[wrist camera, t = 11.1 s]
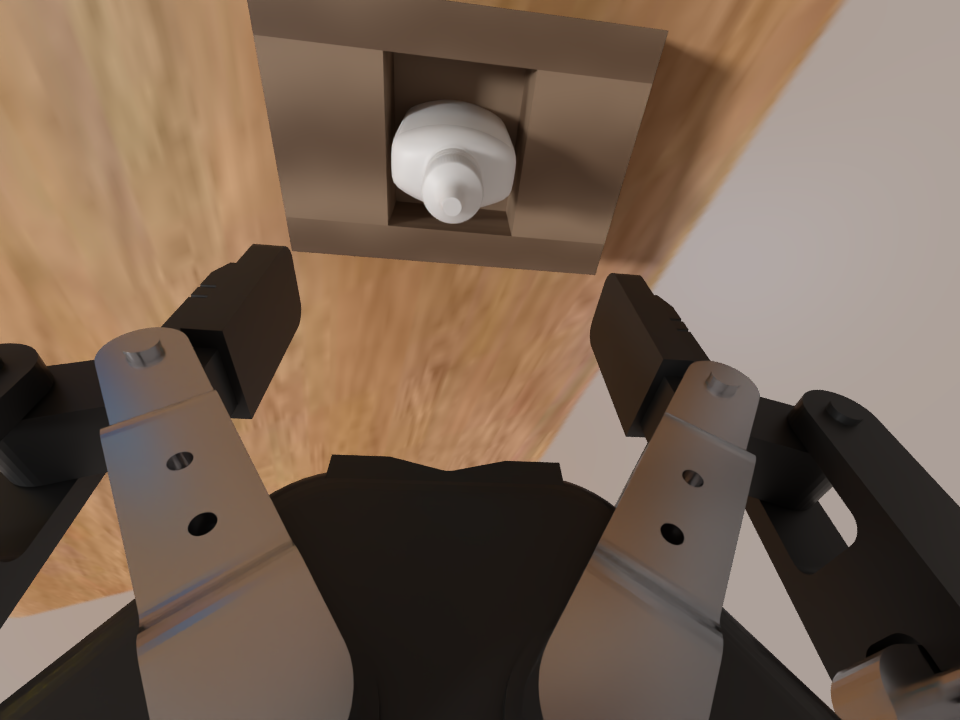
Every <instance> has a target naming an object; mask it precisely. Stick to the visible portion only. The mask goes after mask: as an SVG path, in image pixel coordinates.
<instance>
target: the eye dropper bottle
mask: <svg viewBox="0 0 960 720" xmlns="http://www.w3.org/2000/svg"><path fill="white" fill-rule="evenodd" d="M515 167H516V156H515V151H514V147H513V145H512V142H511V139H510V136H509V134H508V131H507V129H506V126H505V124H504V122H503V121H502V120H501V119H500V118H499V117H498V116H496V115H495V114H493V113H492V112H490V111H488V110H486V109H484V108H482V107H480V106H477V105H475V104H472V103H468V102H464V101H459V100H435V101H429V102H425V103H421V104H418V105H416V106H413V107H411V108H410V109H409V110H408V111H407V113H406V114H405V116H404V118H403V120H402V122H401V124H400V126H399V128H398V130H397V132H396V134H395V137H394V140H393V143H392V152H391V170H392V178H393V181H394V183H395V184H396V185H397V187H398V188H399V189H401V190H402V191H404V192H405V193H407V194H409V195H410V196H412V197H414V198H416V199H418V200H420V201H423V202H424V205H426V206H425V207H426V208H427V210H428V211H429V213H431V215H433V217H436V219H438V220H439V221H442V222H444V223H450V224H452V223H453V224H455V223H456V224H458V223H461V222H464V221H467V220H469V218H472V216H474V214H476V212H478V209H480V207H484V206H488V205H491V204H494V203H497V202H499V201H502V200H504V199H505V198H506V197H507V196H509V194H510V192H511V190H512V186H513V180H514V174H515Z"/></svg>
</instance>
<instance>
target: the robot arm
mask: <svg viewBox="0 0 960 720" xmlns="http://www.w3.org/2000/svg"><path fill="white" fill-rule="evenodd" d="M200 285H201V286H200V287H198V288H197V289H196V290H195V291H194V292H193V293H192V294H191V297H188V298H187V299H186V300H185V302H184V303H183V304H182V305H181V306H180V307H179V308H178V309H177V310H176V311H175V312H174V313H173V315H172V316H171V317H170V318H169V319H168V320H167V321H166V322H165V323H164V324H163V325H162V326H161V327H155V328H146V329H140V330H136V331H132V332H129V333H126V334H124V335H121V336H119V337H117V338H115V339H113V340H111V341H110V342H108V343H107V344H105V345H104V346H103V347H102V348H101V349H100V350H99V351H98V353H97V354H96V356H95V360H90V361H83V362H75V363H68V364H60V365H52V366H46V365H45V363H44V362H43V360H42V359H41V358H40V356H39V355H38V353H37V352H36V350H35V349H33V348H32V347H30V346H27V345H23V344H13V343H9V344H0V628H1V627H2V626H3V624H4V623H5V621H6V620H7V618H8V617H9V615H10V614H11V612H12V611H13V609H14V608H15V606H16V605H17V603H18V602H19V600H20V599H21V598H22V596H23V595H24V593H25V592H26V590H27V589H28V587H29V586H30V584H31V583H32V581H33V580H34V578H35V577H36V575H37V574H38V572H39V571H40V569H41V568H42V566H43V565H44V563H45V562H46V561H47V559H48V558H49V556H50V555H51V553H52V552H53V550H54V549H55V547H56V546H57V544H58V543H59V541H60V540H61V538H62V537H63V535H64V534H65V532H66V531H67V529H68V528H69V526H70V525H71V524H72V522H73V521H74V519H75V518H76V516H77V515H78V513H79V512H80V510H81V509H82V507H83V506H84V504H85V503H86V501H87V500H88V498H89V497H90V495H91V494H92V492H93V491H94V489H95V488H96V487H97V485H98V484H99V482H100V481H101V479H102V478H103V476H104V475H105V473H106V472H108V475H109V480H110V485H111V489H112V494H113V498H114V503H115V508H116V512H117V517H118V522H119V526H120V531H121V535H122V540H123V545H124V549H125V554H126V558H127V563H128V568H129V572H130V577H131V581H132V586H133V591H134V595H135V599H134V600H132V601H131V602H130V603H129V604H127V605H126V606H125V607H123V608H122V609H121V610H120V611H118V612H117V613H116V614H114V615H113V616H112V617H111V618H109V619H108V620H107V621H106V622H104V623H103V624H102V625H100V626H99V627H98V628H97V629H95V630H94V631H93V632H91V633H90V634H89V635H88V636H86V637H85V638H84V639H82V640H81V641H80V642H79V643H77V644H76V645H75V646H74V647H72V648H71V649H70V650H69V651H67V652H66V653H65V654H63V655H62V656H61V657H59V658H58V659H57V660H56V661H54V662H53V663H52V664H51V665H49V666H48V667H47V668H45V669H44V670H43V671H42V672H40V673H39V674H38V675H36V676H35V677H34V678H33V679H31V680H30V681H29V682H27V684H25V685H24V686H22V687H21V688H20V689H19V690H17V691H16V692H15V693H14V694H12V695H11V696H10V697H8V698H7V699H6V700H5V701H3V702H2V703H1V704H0V720H960V507H959V506H958V505H957V504H956V503H955V502H954V500H953V499H952V498H951V497H950V496H949V495H948V494H947V493H946V492H945V491H944V490H943V489H942V488H941V487H940V485H939V484H938V483H937V482H936V481H935V480H934V479H933V478H932V477H931V476H930V475H929V474H928V473H927V472H926V470H925V469H924V468H923V467H922V466H921V465H920V464H919V463H918V462H917V461H916V460H915V459H914V458H913V457H912V455H911V454H910V453H909V452H908V451H907V450H906V449H905V448H904V447H903V446H902V445H901V444H900V443H899V441H898V440H897V439H896V438H895V437H894V436H893V435H892V434H891V433H890V432H889V431H888V430H887V429H886V428H885V426H884V425H883V424H882V423H881V422H880V421H879V420H878V419H877V418H876V417H875V416H874V415H873V414H872V413H871V412H869V411H868V410H867V409H865V408H864V407H862V406H861V405H860V404H858V403H856V402H855V401H852V400H851V399H849V398H846V397H844V396H842V395H839V394H836V393H833V392H829V391H824V390H811V391H808V392H806V393H805V394H804V395H803V396H802V398H801V399H800V400H799V401H798V403H797V404H796V405H795V406H792V405H788V404H785V403H781V402H777V401H774V400H770V399H766V398H762V397H760V394H759V391H758V388H757V387H756V385H755V384H754V383H753V382H752V381H751V380H750V379H749V378H748V377H747V376H745V375H744V374H743V373H741V372H740V371H738V370H736V369H734V368H732V367H730V366H728V365H725V364H722V363H718V362H714V361H710V360H709V358H708V357H707V355H706V354H705V352H704V351H703V349H702V348H701V347H700V345H699V344H698V342H697V341H696V340H695V338H694V337H693V335H692V334H691V332H688V328H687V327H686V325H685V324H684V323H683V322H681V318H680V317H679V315H678V314H677V312H676V311H675V310H674V308H673V307H672V306H670V305H669V304H668V303H667V302H666V301H664V300H663V299H662V298H660V297H659V296H657V295H654V294H653V293H652V291H651V290H650V288H649V287H648V285H647V284H646V282H645V281H644V279H643V278H642V277H641V276H640V275H629V274H616V273H611V274H609V276H608V277H607V279H606V281H605V283H604V287H603V290H602V293H601V296H600V299H599V302H598V305H597V308H596V311H595V314H594V317H593V320H592V324H591V329H590V343H591V347H592V349H593V352H594V355H595V357H596V360H597V362H598V365H599V368H600V370H601V373H602V375H603V378H604V381H605V383H606V386H607V388H608V391H609V394H610V396H611V399H612V401H613V404H614V407H615V409H616V412H617V415H618V417H619V420H620V422H621V425H622V428H623V430H624V433H625V435H626V437H645V438H646V440H647V442H648V443H647V445H646V447H645V449H644V451H643V452H642V454H641V456H640V458H639V460H638V462H637V464H636V466H635V468H634V470H633V472H632V474H631V475H630V478H629V480H628V481H627V483H626V485H625V487H624V489H623V491H622V493H621V495H620V497H619V498H618V501H617V502H616V504H615V506H613V505H612V504H610V503H609V502H608V501H606V500H604V499H603V498H601V497H600V496H598V495H596V494H595V493H593V492H591V491H589V490H587V489H585V488H583V487H580V486H578V485H575V484H573V483H570V482H567V481H563V478H562V474H561V469H560V464H559V463H548V462H522V461H502V462H497V463H492V464H486V465H481V466H476V467H470V468H465V469H460V470H455V471H444V470H439V469H436V468H432V467H428V466H424V465H420V464H416V463H412V462H409V461H405V460H401V459H397V458H393V457H385V456H358V455H332V456H331V460H330V463H329V467H328V470H327V473H322V474H317V475H314V476H311V477H307V478H304V479H301V480H299V481H296V482H294V483H291V484H289V485H287V486H285V487H283V488H281V489H279V490H277V491H275V492H273V493H272V494H270V495H269V494H268V492H267V490H266V488H265V486H264V484H263V482H262V480H261V478H260V476H259V474H258V472H257V470H256V468H255V466H254V464H253V462H252V460H251V458H250V456H249V454H248V452H247V450H246V448H245V446H244V444H243V442H242V440H241V438H240V436H239V434H238V432H237V430H236V428H235V426H234V424H233V422H232V420H231V418H239V419H252V418H253V416H254V414H255V412H256V410H257V408H258V406H259V404H260V402H261V400H262V398H263V396H264V394H265V392H266V390H267V388H268V386H269V384H270V382H271V380H272V378H273V376H274V374H275V372H276V370H277V368H278V366H279V364H280V362H281V360H282V358H283V356H284V354H285V352H286V350H287V348H288V346H289V344H290V342H291V340H292V338H293V336H294V334H295V332H296V330H297V328H298V326H299V323H300V318H301V302H300V297H299V291H298V286H297V281H296V275H295V270H294V264H293V259H292V255H291V252H290V250H289V248H288V247H286V246H273V245H261V244H253V245H252V246H251V247H250V248H249V249H248V250H247V251H246V252H245V253H244V255H243V256H242V257H241V258H240V259H239V260H238V262H237V263H229V264H227V265H225V266H223V267H221V268H219V269H217V270H215V271H213V272H211V273H210V275H209V276H208V277H207V278H206V279H205V280H204V281H203V282H202V283H201V284H200ZM832 487H834V489H835V490H836V491H837V493H838V494H839V496H840V497H841V499H842V500H843V502H844V503H845V504H846V506H847V507H848V509H849V510H850V511H851V513H852V514H853V516H854V518H855V520H856V524H857V537H856V540H855V542H854V543H853V544H852V545H851V546H850V547H848V546H847V544H846V543H845V541H844V540H843V538H842V537H841V535H840V533H839V532H838V531H837V529H836V527H835V526H834V525H833V523H832V521H831V520H830V518H829V517H828V515H827V514H826V512H825V511H824V509H823V508H822V506H821V505H820V503H819V502H818V500H819V499H820V498H821V497H822V496H823V495H824V494H825V493H826V492H827V491H828V490H830V489H831V488H832ZM745 509H746V511H747V513H748V515H749V517H750V519H751V521H752V523H753V525H754V527H755V529H756V531H757V533H758V535H759V537H760V539H761V541H762V543H763V545H764V547H765V549H766V551H767V553H768V555H769V557H770V559H771V561H772V563H773V565H774V567H775V569H776V571H777V573H778V575H779V577H780V579H781V581H782V583H783V585H784V587H785V589H786V591H787V593H788V595H789V597H790V599H791V601H792V603H793V605H794V607H795V609H796V611H797V613H798V615H799V617H800V619H801V621H802V622H803V625H804V627H805V629H806V631H807V633H808V635H809V637H810V639H811V641H812V643H813V644H814V647H815V649H816V650H817V653H818V655H819V657H820V658H821V660H822V663H823V665H824V666H825V668H826V670H827V672H828V674H829V676H830V678H831V680H832V685H831V699H832V703H833V708H834V711H835V712H833V711H832V710H831V709H830V708H829V707H828V706H827V705H826V704H825V703H824V702H823V701H822V700H821V699H819V697H817V696H816V695H815V694H814V693H813V692H812V691H811V690H810V689H809V688H808V687H807V686H806V685H805V684H804V683H803V682H802V681H800V680H799V679H798V678H797V677H796V676H795V675H794V674H793V673H792V672H791V671H790V670H788V668H786V666H784V665H783V664H782V663H781V662H780V661H779V660H778V659H777V658H776V657H775V656H774V655H773V654H772V653H771V652H770V651H769V650H767V649H766V648H765V647H764V646H763V645H762V644H761V643H760V642H759V641H758V640H757V639H756V638H755V637H753V635H752V634H750V633H749V632H748V631H747V630H746V629H745V628H744V627H743V626H742V625H741V624H740V623H739V622H738V621H736V620H735V619H734V618H733V617H732V616H731V615H730V614H729V613H728V612H727V611H726V610H725V609H724V608H723V607H722V606H723V602H724V597H725V593H726V589H727V584H728V580H729V575H730V571H731V567H732V563H733V558H734V554H735V550H736V545H737V541H738V537H739V532H740V528H741V524H742V519H743V515H744V510H745Z"/></svg>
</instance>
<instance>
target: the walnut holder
mask: <svg viewBox="0 0 960 720" xmlns="http://www.w3.org/2000/svg"><path fill="white" fill-rule="evenodd" d="M247 2H248V8H249V13H250V19H251V25H252V30H253V36H254V41H255V47H256V52H257V58H258V64H259V69H260V75H261V80H262V86H263V92H264V97H265V103H266V108H267V114H268V119H269V125H270V131H271V136H272V142H273V147H274V153H275V158H276V164H277V170H278V175H279V181H280V186H281V192H282V197H283V203H284V209H285V214H286V220H287V225H288V231H289V237H290V242H291V248H292V251H298V252H311V253H323V254H336V255H349V256H361V257H374V258H387V259H399V260H412V261H425V262H437V263H450V264H463V265H475V266H488V267H501V268H513V269H526V270H539V271H551V272H564V273H577V274H589V275H595V274H596V270H597V267H598V264H599V260H600V257H601V254H602V250H603V247H604V244H605V240H606V237H607V234H608V230H609V227H610V224H611V220H612V217H613V214H614V210H615V207H616V204H617V200H618V197H619V194H620V190H621V187H622V184H623V180H624V177H625V174H626V171H627V167H628V164H629V161H630V157H631V154H632V151H633V147H634V144H635V141H636V137H637V134H638V131H639V127H640V124H641V121H642V117H643V114H644V111H645V107H646V104H647V101H648V97H649V94H650V91H651V87H652V84H653V81H654V77H655V74H656V71H657V67H658V64H659V61H660V57H661V54H662V51H663V47H664V44H665V41H666V37H667V34H668V31H667V30H660V29H653V28H645V27H638V26H630V25H623V24H616V23H608V22H601V21H594V20H586V19H579V18H571V17H564V16H557V15H549V14H542V13H535V12H527V11H520V10H512V9H505V8H498V7H490V6H483V5H476V4H468V3H461V2H453V1H446V0H247ZM435 100H459V101H464V102H468V103H472V104H475V105H477V106H480V107H482V108H484V109H486V110H488V111H490V112H492V113H493V114H495V115H496V116H498V117H499V118H500V119H501V120H502V121H503V122H504V124H505V126H506V129H507V131H508V134H509V136H510V139H511V142H512V145H513V147H514V151H515V156H516V167H515V174H514V180H513V186H512V190H511V192H510V194H509V196H507V197H506V198H505V199H504V200H502V201H499V202H497V203H494V204H491V205H488V206H484V207H480V209H478V212H476V214H474V216H472V218H469V220H467V221H464V222H461V223H458V224H456V223H455V224H453V223H452V224H450V223H444V222H442V221H439V220H438V219H436V217H433V215H431V213H429V211H428V210H427V208H426V207H425V206H426V205H424V202H423V201H420V200H418V199H416V198H414V197H412V196H410V195H409V194H407V193H405V192H404V191H402V190H401V189H399V188H398V187H397V185H396V184H395V183H394V181H393V178H392V170H391V152H392V143H393V140H394V137H395V134H396V132H397V130H398V128H399V126H400V124H401V122H402V120H403V118H404V116H405V114H406V113H407V111H408V110H409V109H410V108H411V107H413V106H416V105H418V104H421V103H425V102H429V101H435Z"/></svg>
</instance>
